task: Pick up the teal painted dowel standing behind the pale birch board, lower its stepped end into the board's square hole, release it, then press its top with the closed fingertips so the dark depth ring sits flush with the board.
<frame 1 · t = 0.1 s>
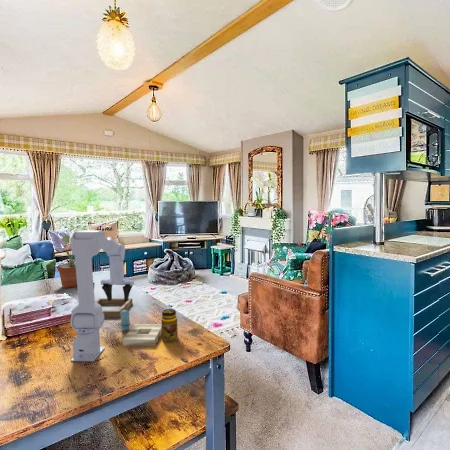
hand: (118, 300, 136), 10 cm above the table, fingers open, 7 cm apart
condiment: (168, 340, 121), on the table, touching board
peg: (125, 329, 130), on the table
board: (144, 337, 123), on the table
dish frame: (109, 310, 152), on the table
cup: (88, 297, 173), on the table
potted plant: (72, 285, 196), on the table
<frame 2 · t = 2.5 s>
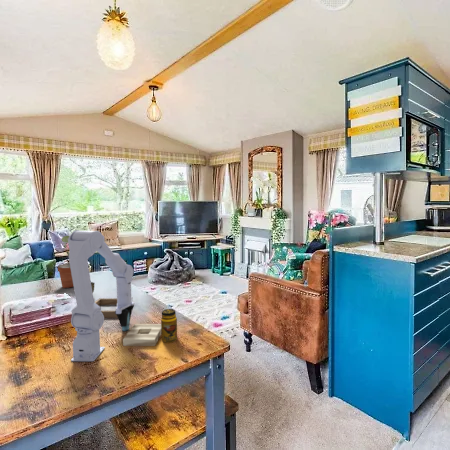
hand: (125, 324, 130), 2 cm above the table, fingers closed on peg, 3 cm apart
peg: (125, 329, 130), on the table, touching gripper
everything else where it was.
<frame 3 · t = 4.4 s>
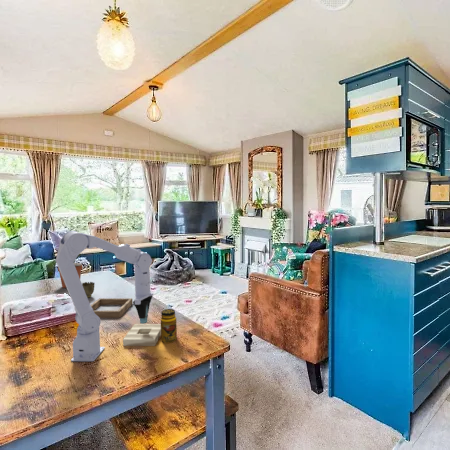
hand: (143, 316, 122), 9 cm above the table, fingers closed on peg, 3 cm apart
peg: (143, 322, 122), point 6 cm above the table, touching gripper
everything else where it was.
when the fingers open (3 cm above the table, at t = 6.4 s): peg stays where it is, resting in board.
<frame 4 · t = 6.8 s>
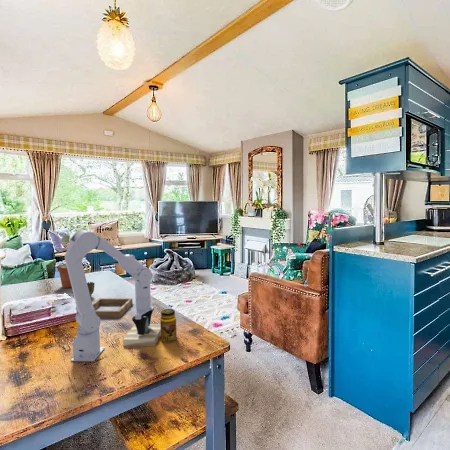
hand: (144, 330, 122), 3 cm above the table, fingers open, 7 cm apart
peg: (144, 337, 123), resting in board
everything else where it was.
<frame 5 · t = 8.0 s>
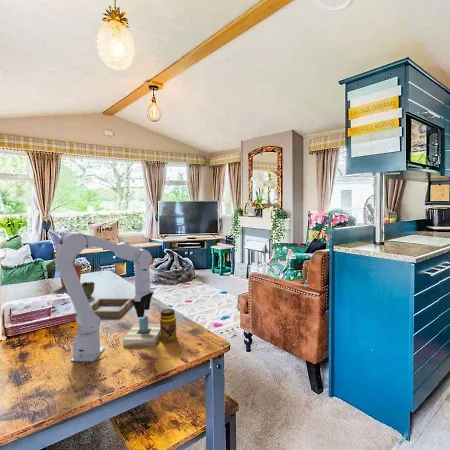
hand: (143, 313, 122), 10 cm above the table, fingers open, 7 cm apart
nothing on the table moved.
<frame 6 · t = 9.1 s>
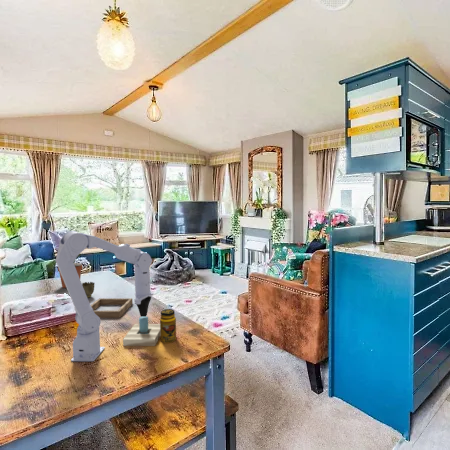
hand: (143, 315, 122), 9 cm above the table, fingers closed
nothing on the table moved.
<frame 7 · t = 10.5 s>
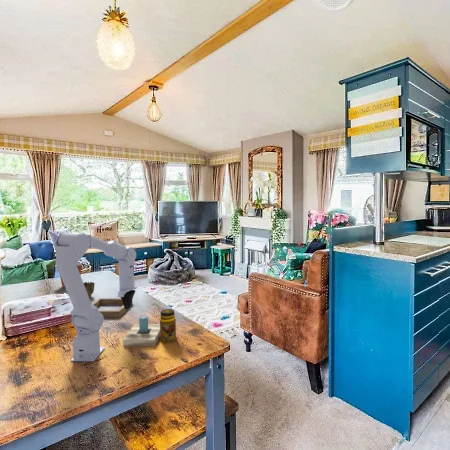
hand: (127, 308, 127), 10 cm above the table, fingers closed
nothing on the table moved.
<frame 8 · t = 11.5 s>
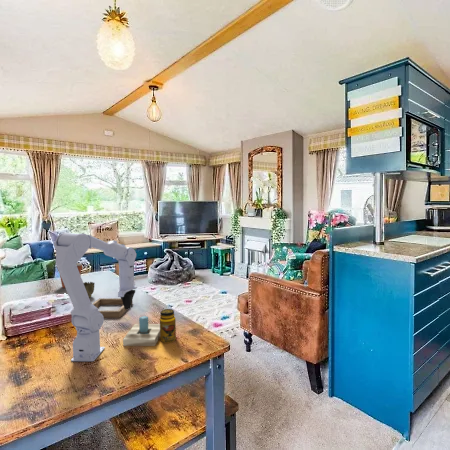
hand: (127, 308, 127), 10 cm above the table, fingers closed
nothing on the table moved.
at the end: peg 0.1 cm off-centre on the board, point 0.0 cm above the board's base; peg tilted 0°; the gripper is holding nothing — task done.
